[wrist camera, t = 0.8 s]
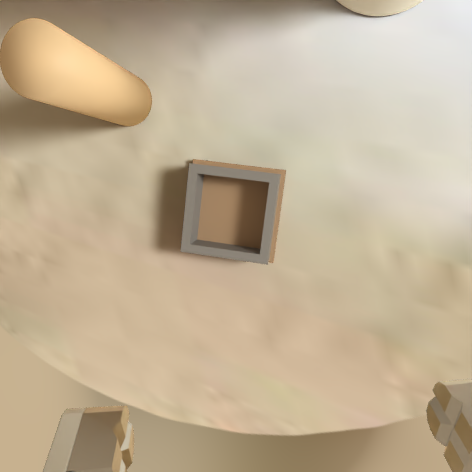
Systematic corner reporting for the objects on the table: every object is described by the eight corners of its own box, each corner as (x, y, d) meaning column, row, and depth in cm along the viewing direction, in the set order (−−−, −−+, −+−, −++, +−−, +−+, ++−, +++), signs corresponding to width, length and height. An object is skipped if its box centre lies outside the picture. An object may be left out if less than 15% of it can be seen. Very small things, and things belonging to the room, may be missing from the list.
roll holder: (195, 159, 49) (185, 158, 45) (286, 170, 48) (285, 169, 43) (186, 248, 51) (175, 255, 46) (273, 261, 50) (271, 269, 45)
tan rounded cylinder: (106, 72, 49) (0, 15, 31) (153, 77, 48) (72, 21, 31) (103, 123, 50) (-2, 95, 32) (149, 128, 49) (69, 103, 32)
